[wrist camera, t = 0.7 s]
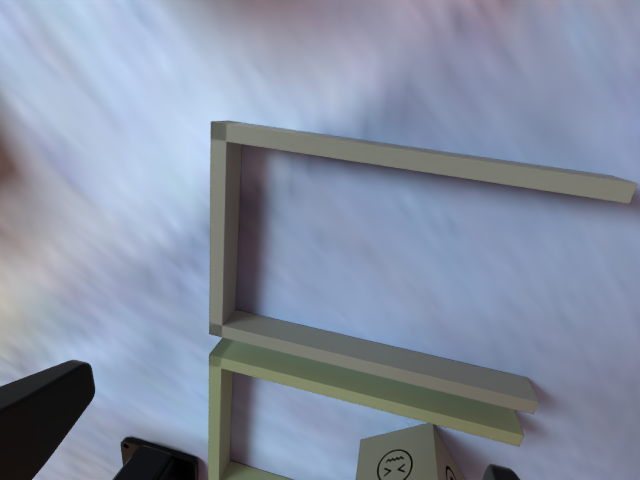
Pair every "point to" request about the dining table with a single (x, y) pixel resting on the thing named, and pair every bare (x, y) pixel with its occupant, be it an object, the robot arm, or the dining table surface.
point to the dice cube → (407, 456)
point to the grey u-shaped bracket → (338, 384)
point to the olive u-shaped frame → (345, 348)
